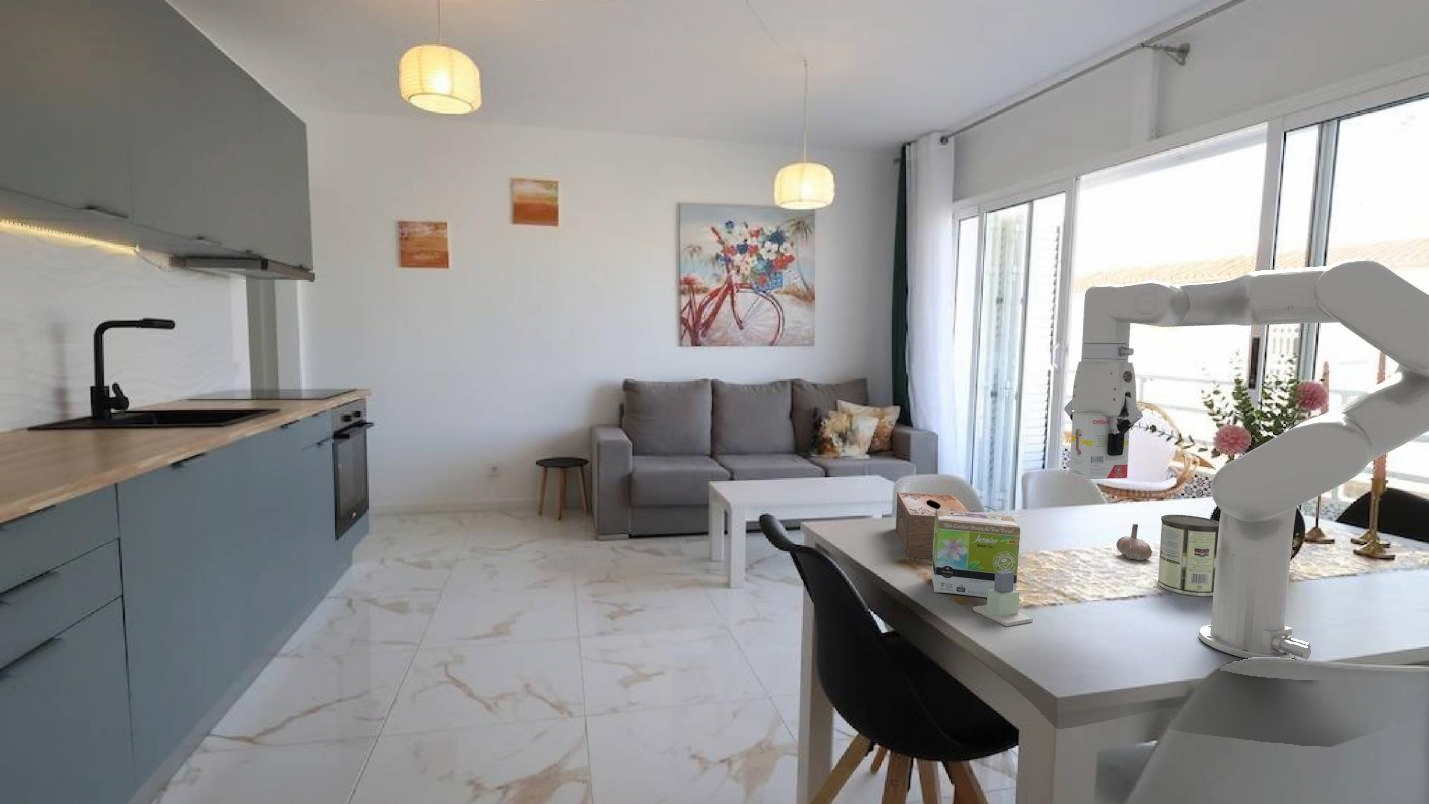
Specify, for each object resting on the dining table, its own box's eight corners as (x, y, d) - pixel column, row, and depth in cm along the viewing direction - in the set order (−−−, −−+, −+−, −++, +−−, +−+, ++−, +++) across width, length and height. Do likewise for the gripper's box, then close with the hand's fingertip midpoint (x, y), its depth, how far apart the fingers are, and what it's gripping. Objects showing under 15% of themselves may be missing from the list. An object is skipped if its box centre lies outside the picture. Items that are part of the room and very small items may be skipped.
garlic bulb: (1121, 551, 172) (1124, 518, 171) (1156, 558, 166) (1158, 524, 166) (1111, 557, 166) (1113, 523, 166) (1146, 564, 161) (1148, 529, 161)
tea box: (933, 594, 138) (937, 519, 137) (930, 578, 148) (934, 508, 147) (1016, 602, 135) (1021, 525, 134) (1008, 585, 144) (1012, 513, 143)
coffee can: (1182, 578, 151) (1187, 513, 150) (1230, 594, 142) (1235, 525, 140) (1144, 581, 149) (1149, 515, 147) (1189, 598, 139) (1195, 527, 138)
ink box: (1109, 474, 134) (1112, 411, 133) (1128, 478, 129) (1132, 413, 128) (1067, 474, 133) (1071, 411, 132) (1085, 479, 128) (1089, 413, 127)
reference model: (1032, 621, 125) (1035, 577, 124) (1006, 626, 123) (1008, 580, 122) (998, 606, 132) (1000, 563, 132) (972, 610, 130) (975, 567, 129)
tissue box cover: (895, 529, 188) (897, 492, 188) (952, 532, 186) (954, 495, 186) (908, 557, 163) (909, 514, 162) (973, 561, 161) (975, 518, 160)
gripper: (1164, 355, 123) (1158, 459, 124) (1079, 353, 139) (1074, 446, 140) (1134, 354, 120) (1128, 460, 121) (1050, 353, 136) (1045, 447, 137)
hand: (1099, 451), depth 131 cm, fingers closed on ink box, 5 cm apart
